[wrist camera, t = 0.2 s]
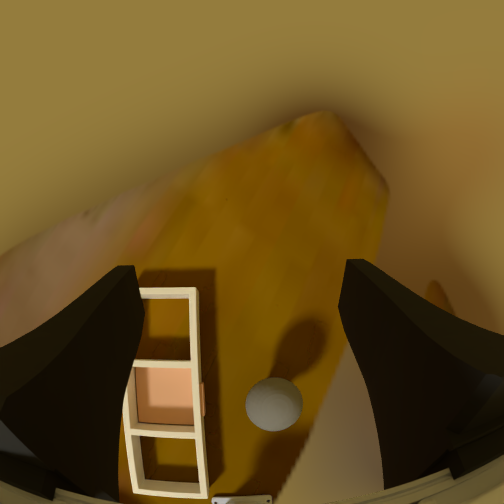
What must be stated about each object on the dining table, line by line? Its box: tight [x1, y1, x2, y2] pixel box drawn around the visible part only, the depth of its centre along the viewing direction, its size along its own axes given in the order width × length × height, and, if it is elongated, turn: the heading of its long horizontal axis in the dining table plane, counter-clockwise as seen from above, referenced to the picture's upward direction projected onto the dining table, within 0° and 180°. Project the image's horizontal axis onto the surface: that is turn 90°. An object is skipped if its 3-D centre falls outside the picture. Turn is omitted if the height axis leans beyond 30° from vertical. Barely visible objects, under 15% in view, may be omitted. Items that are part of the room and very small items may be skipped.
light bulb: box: [246, 377, 303, 431], centre depth 33 cm, size 6×6×10 cm
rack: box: [123, 287, 209, 499], centre depth 35 cm, size 27×10×4 cm, turn 2°
